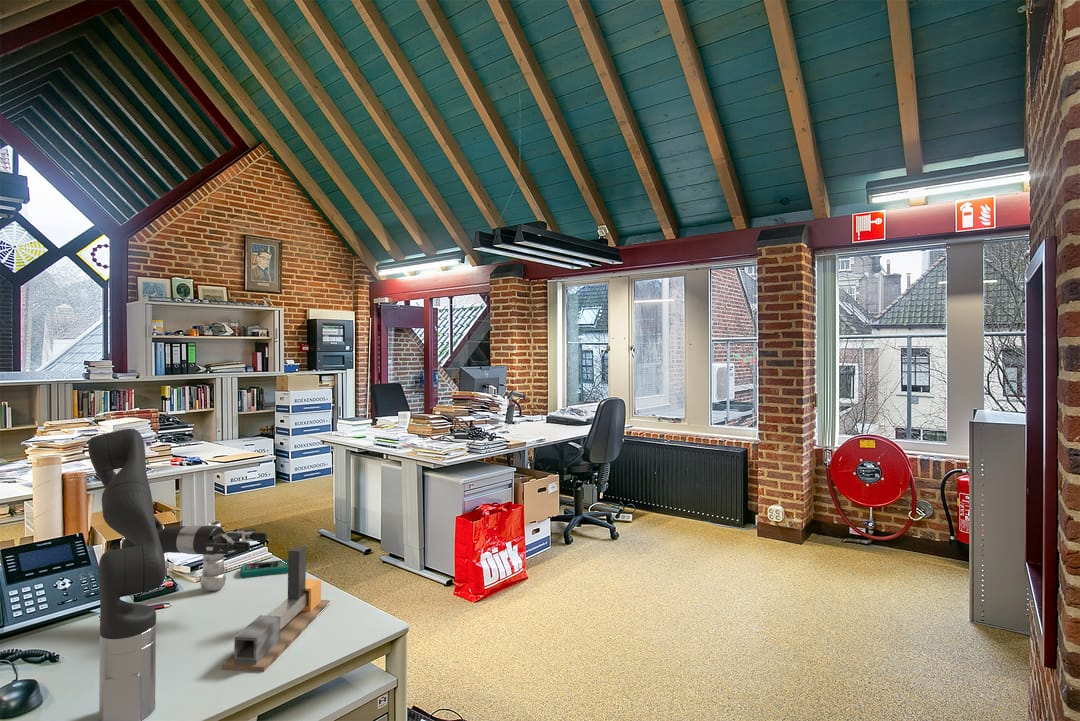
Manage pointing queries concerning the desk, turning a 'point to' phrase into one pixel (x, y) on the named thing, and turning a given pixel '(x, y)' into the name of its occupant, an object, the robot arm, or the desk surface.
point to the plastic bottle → (213, 569)
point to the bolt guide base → (267, 640)
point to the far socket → (313, 593)
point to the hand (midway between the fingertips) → (258, 541)
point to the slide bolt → (294, 587)
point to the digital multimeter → (264, 568)
